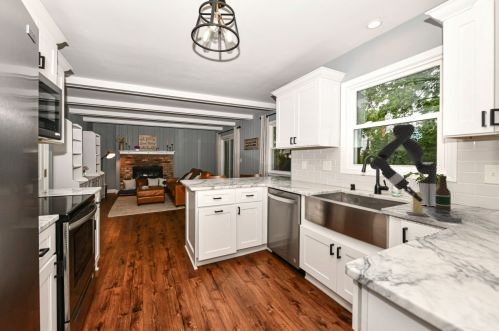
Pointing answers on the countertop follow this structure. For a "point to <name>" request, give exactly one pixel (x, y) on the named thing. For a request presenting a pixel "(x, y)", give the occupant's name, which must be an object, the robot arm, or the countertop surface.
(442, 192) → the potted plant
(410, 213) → the rubber mat
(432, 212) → the grey slotted plate
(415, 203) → the wooden square peg
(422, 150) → the robot arm
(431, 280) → the countertop surface
